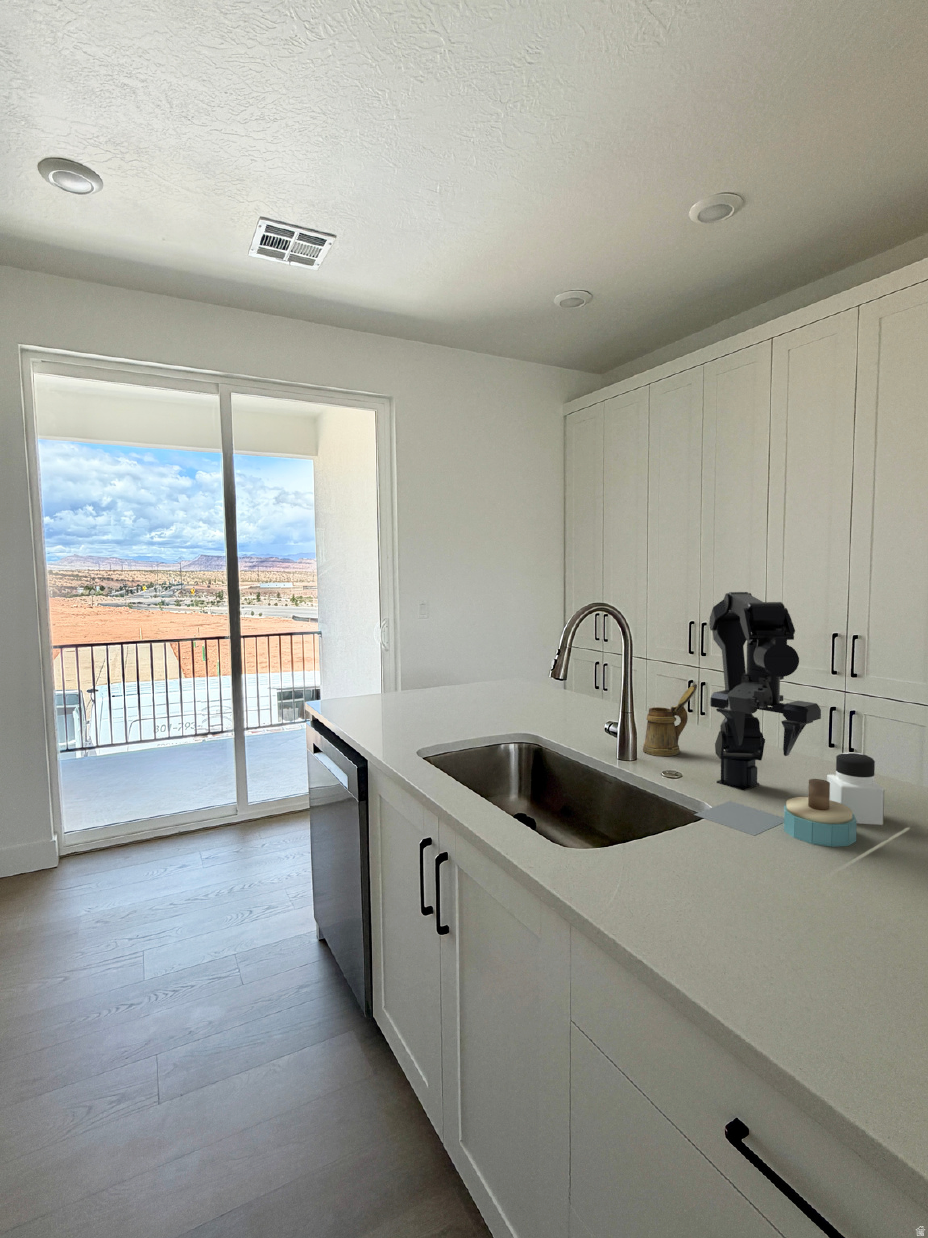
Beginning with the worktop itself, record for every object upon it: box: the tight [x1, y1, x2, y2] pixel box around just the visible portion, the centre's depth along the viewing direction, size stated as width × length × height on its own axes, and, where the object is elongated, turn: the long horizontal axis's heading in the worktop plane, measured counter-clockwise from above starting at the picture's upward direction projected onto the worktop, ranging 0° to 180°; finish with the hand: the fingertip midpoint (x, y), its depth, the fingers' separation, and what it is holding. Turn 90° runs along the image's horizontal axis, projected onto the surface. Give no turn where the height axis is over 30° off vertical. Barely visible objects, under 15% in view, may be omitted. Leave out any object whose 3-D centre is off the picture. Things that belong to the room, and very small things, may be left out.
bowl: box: [783, 804, 858, 848], centre depth 107 cm, size 11×11×4 cm
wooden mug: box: [642, 684, 698, 757], centre depth 159 cm, size 9×14×18 cm, turn 80°
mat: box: [693, 800, 784, 837], centre depth 115 cm, size 12×12×1 cm
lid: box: [785, 778, 853, 824], centre depth 107 cm, size 10×10×6 cm
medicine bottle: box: [826, 752, 885, 826], centre depth 114 cm, size 7×7×12 cm
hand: (761, 750), depth 116 cm, fingers open, 9 cm apart
